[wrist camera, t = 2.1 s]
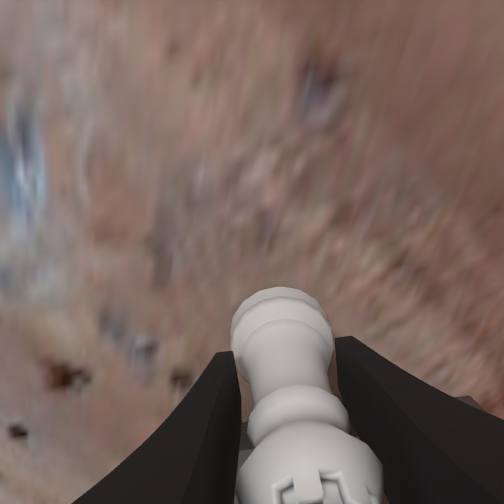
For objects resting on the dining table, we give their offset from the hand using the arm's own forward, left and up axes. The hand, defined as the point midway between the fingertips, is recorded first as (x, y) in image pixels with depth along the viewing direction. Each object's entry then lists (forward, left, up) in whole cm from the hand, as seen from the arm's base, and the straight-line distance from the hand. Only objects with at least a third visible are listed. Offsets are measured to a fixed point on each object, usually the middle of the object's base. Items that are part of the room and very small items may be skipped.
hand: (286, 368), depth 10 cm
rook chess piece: (0, 0, -3) cm, 3 cm away
